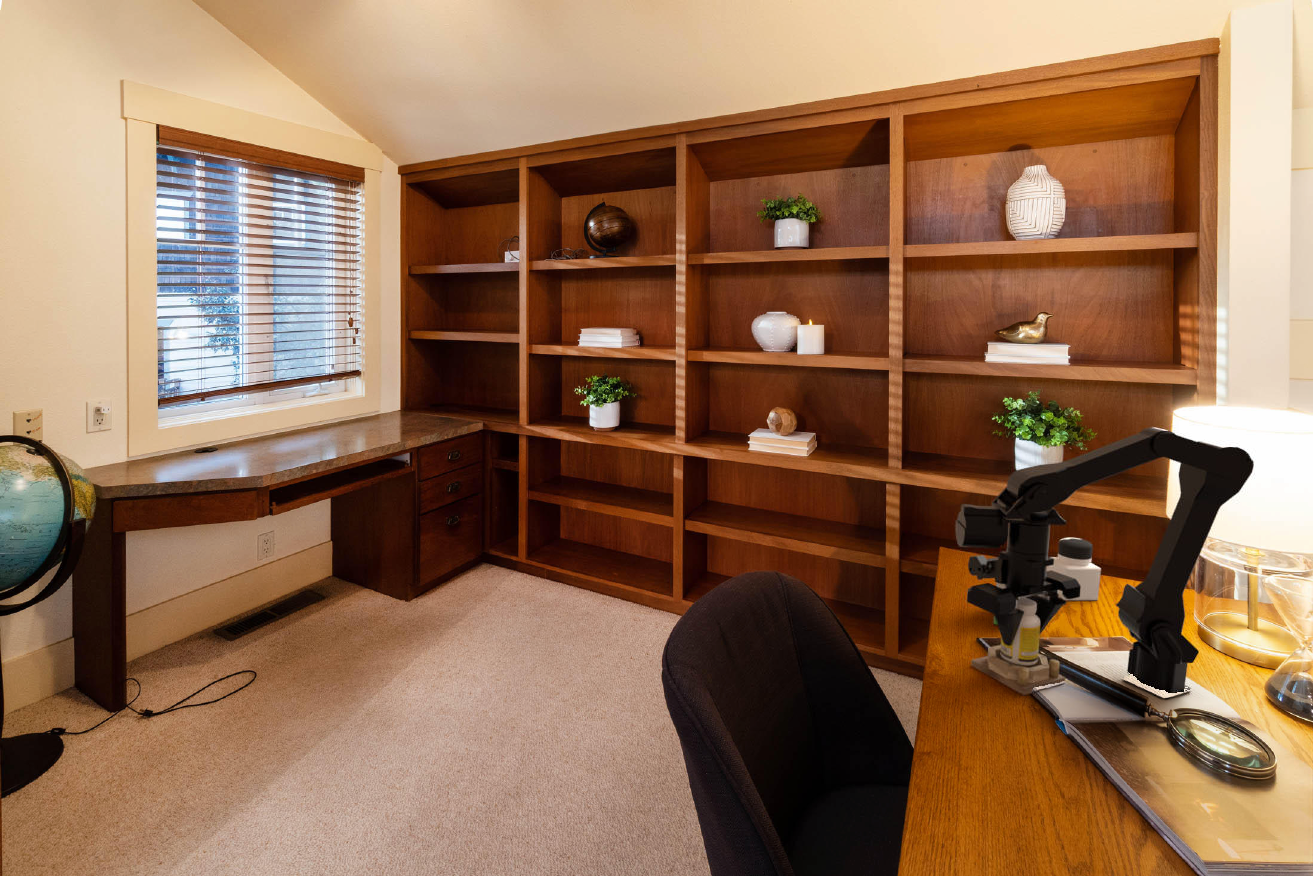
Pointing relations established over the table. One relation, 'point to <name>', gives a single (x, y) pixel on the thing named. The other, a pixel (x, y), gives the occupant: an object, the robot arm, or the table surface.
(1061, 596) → the medicine bottle
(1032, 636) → the supplement bottle
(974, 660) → the beige octagonal holder
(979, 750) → the table surface
